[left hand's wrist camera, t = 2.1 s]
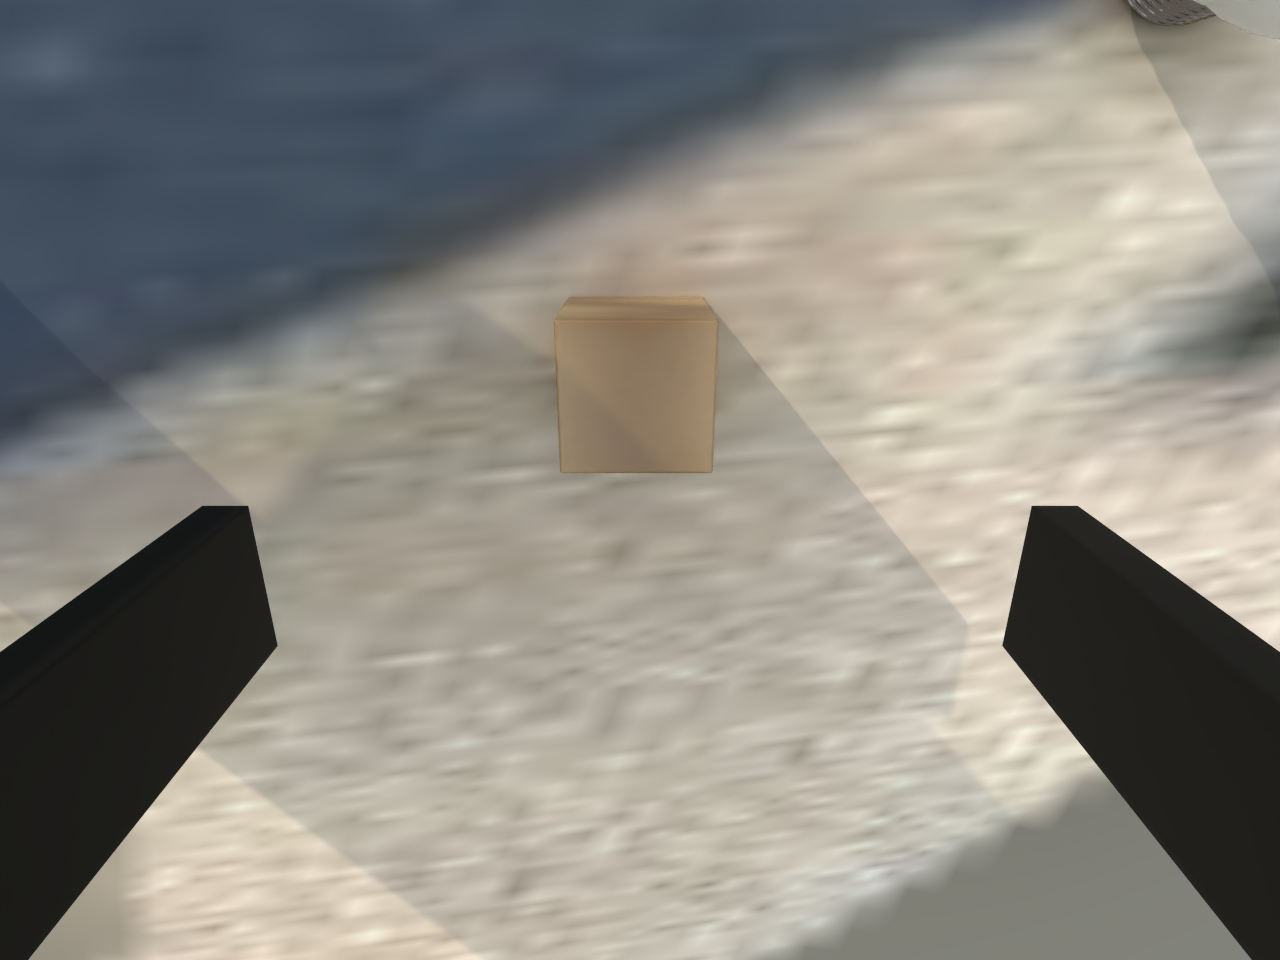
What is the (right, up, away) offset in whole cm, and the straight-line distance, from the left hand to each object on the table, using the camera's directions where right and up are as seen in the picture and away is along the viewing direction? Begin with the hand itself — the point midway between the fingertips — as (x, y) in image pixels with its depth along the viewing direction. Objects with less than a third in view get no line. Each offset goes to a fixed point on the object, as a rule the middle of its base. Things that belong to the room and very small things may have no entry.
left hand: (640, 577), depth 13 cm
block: (0, +6, +15) cm, 16 cm away
